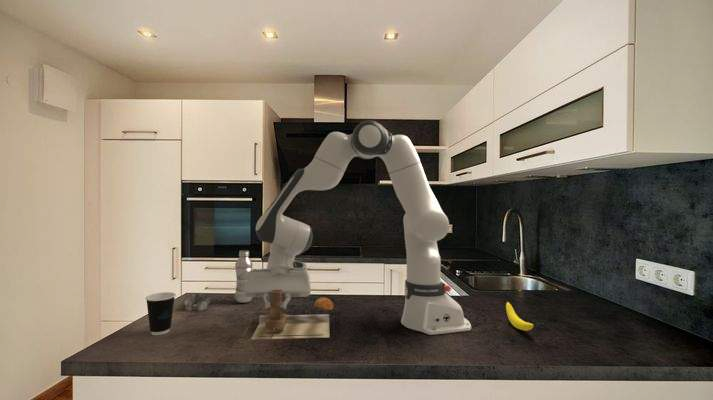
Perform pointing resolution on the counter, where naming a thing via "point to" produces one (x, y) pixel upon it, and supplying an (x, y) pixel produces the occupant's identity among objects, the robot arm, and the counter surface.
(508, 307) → the banana
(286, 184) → the robot arm
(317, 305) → the pastry
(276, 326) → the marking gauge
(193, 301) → the egg carton
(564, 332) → the counter surface
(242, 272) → the plastic bottle
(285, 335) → the birch board
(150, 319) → the dixie cup
